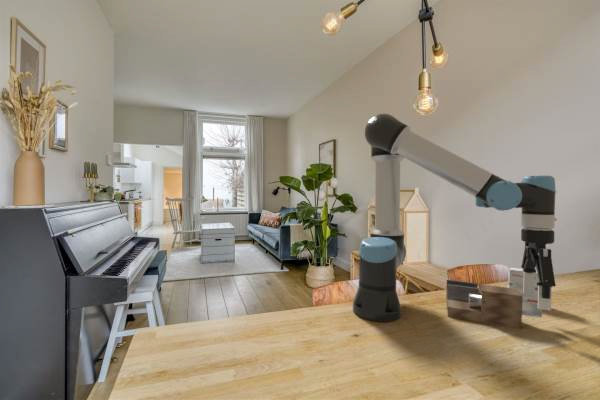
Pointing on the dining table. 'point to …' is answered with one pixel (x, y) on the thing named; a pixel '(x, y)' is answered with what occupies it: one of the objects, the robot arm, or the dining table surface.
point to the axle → (527, 307)
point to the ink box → (517, 283)
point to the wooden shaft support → (491, 307)
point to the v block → (460, 290)
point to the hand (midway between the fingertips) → (535, 301)
